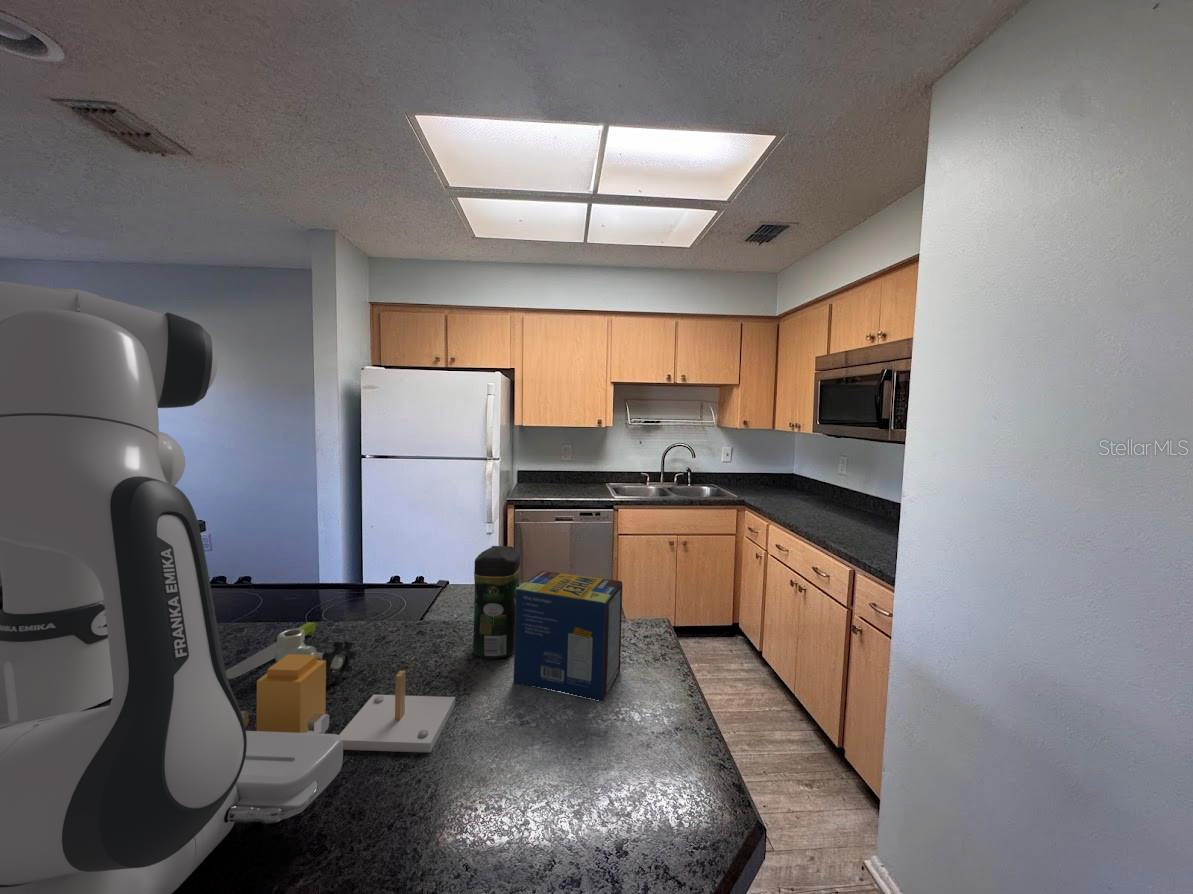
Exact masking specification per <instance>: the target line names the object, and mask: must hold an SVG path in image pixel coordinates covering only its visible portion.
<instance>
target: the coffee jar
mask: <svg viewBox="0 0 1193 894" xmlns="http://www.w3.org/2000/svg"><path fill="white" fill-rule="evenodd" d="M520 566H521V554H520V553H519V551H518V550H517V549H516V548H515V547H513V546H512V545H511V546H510V545H509V546H508V545H492V546H491V547H489V548H488V549H485V550H484V551H481V552H480V553H479V554H478V555H477V557H476V558H475V559H474V567H473V568H474V569H473V570H474V571H473V574H474V575H473V576H474V577H473V578H474V600H473V601H474V604H473V605H474V608H473V610H474V613H473V614H474V615H473V636H472V638H473V639H472V652H473V654H474V655H475V656H478V657H481V658H484V659H488V660H495V659H496V660H497V659H500V658H505V657H509V656H511V655H512V654H514V647H515V612H516V588H517V587H519V586H520V575H521V573H520V572H521V567H520Z"/></svg>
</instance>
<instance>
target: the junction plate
mask: <svg viewBox="0 0 1193 894" xmlns="http://www.w3.org/2000/svg"><path fill="white" fill-rule="evenodd" d="M394 685H395V690H394V691H395V693H394V694H373V695H371V697H370V698H369V699H368V700H367V702H366V703H365V704H364V705H363V706H362V707H361V708H360V709H359V711H358V712H357V713H356V714H355V716H353V718H352V719H351V720H350V721H349V722H348V724H346V726H345V727H344V729H343V730H342V731H341V732H340V733H339V734H338V735H339V736H340V738H341V740H342V744H343V751H344V750H345V751H371V752H372V751H375V752H404V753H405V752H406V753H431V752H432V750H433V749H434V747H435V745H436V743H437V741H438V739H439V737H440V736H441V733H442V732H443V729H444V728H445V725H446V724H447V722H448V720H449V718H450V715H451V714H452V712H453V710H454V708H455V707H456V697H455V696H435V695H434V696H431V695H430V696H427V695H425V696H424V695H406V670H399V671H398V673H397V674H396V675H395V684H394Z"/></svg>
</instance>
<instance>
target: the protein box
mask: <svg viewBox="0 0 1193 894" xmlns="http://www.w3.org/2000/svg"><path fill="white" fill-rule="evenodd" d="M622 603H623V581H621V580H614V579H605V578H599V577H590V576H583V575H575V574H568V573H561V572H554V571H553V572H552V571H545V570H542V571H541V570H540V572H538V573H537V574H536V575H534V576H533V577H531V578H530V579H529V580H526V581H525V582H523V583H522V584H519V587H517V588H516V612H515V647H514V651H513V683H514V684H517V683H518V684H519V685H522V684H524V685H523V686H526V685H528V686H527V687H531V686H535V687H540V688H547V689H550V690H551V689H552V690H555V691H561V692H565V693H569V694H573V695H577V696H582V697H586V698H591V699H595V700H599V701H604V700H605V699H604V697H605V696H606V697H607V695H608V693H609V691H610V689H611V687H612V686H611V685H613V684H614V682H615V680H616V678H617V676H618V675H617V674H619V673H618V672H620V671H621V654H622V653H621V651H622V650H621V648H622V617H623V615H622V614H623V612H622V611H623V604H622ZM619 670H620V671H619ZM616 675H617V676H616ZM615 677H616V678H615ZM614 679H615V680H614ZM613 681H614V682H613ZM612 683H613V684H612ZM535 687H534V688H535ZM540 688H539V689H540ZM609 688H610V689H609ZM608 690H609V691H608ZM607 692H608V693H607ZM606 694H607V695H606ZM606 697H605V698H606ZM603 699H604V700H603Z"/></svg>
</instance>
